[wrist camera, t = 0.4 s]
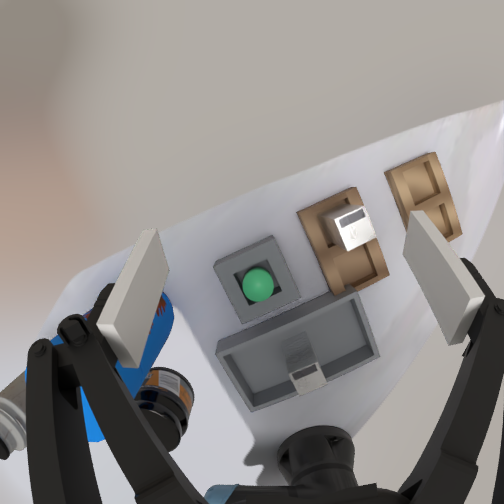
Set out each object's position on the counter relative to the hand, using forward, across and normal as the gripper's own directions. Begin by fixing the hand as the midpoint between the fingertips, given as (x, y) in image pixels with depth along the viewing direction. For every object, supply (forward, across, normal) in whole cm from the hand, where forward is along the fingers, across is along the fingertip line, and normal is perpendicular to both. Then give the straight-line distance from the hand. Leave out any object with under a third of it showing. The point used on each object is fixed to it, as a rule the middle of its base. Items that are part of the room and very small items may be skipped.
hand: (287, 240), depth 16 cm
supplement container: (+14, +21, +38) cm, 46 cm away
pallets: (+27, -16, +16) cm, 35 cm away
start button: (+21, +3, +20) cm, 29 cm away
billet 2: (+26, -8, +15) cm, 31 cm away
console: (+23, +4, +21) cm, 32 cm away
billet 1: (+18, -2, +32) cm, 36 cm away
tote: (+18, -2, +32) cm, 37 cm away
